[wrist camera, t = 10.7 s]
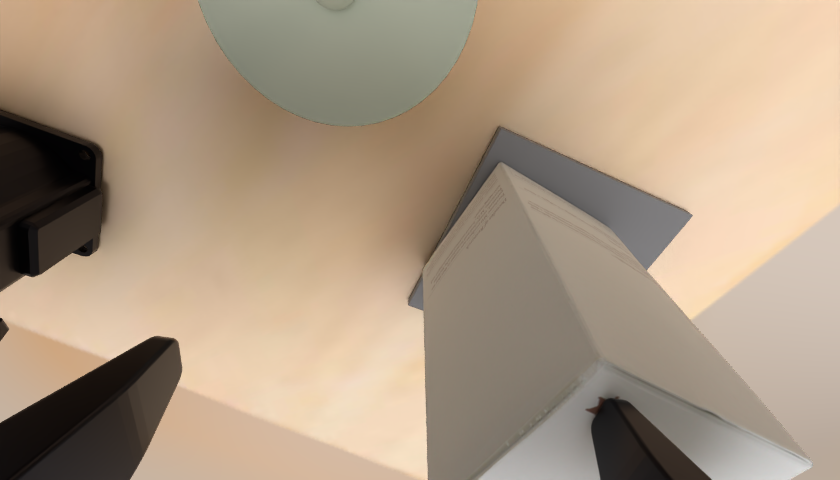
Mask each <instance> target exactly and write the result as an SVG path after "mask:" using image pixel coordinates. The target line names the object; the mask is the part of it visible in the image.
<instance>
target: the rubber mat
mask: <svg viewBox="0 0 840 480" xmlns="http://www.w3.org/2000/svg"><path fill="white" fill-rule="evenodd" d="M500 162H502V163H504V164H506V165H507V166H509V167H511V168H512V169H514V170H516V171H517V172H519V173H521V174H522V175H524V176H526V177H527V178H529V179H531V180H532V181H534V182H536V183H537V184H539V185H541V186H542V187H544V188H546V189H547V190H549V191H551V192H552V193H554V194H556V195H557V196H559V197H561V198H562V199H564V200H566V201H567V202H569V203H571V204H572V205H574V206H576V207H577V208H579V209H581V210H582V211H584V212H585V213H587V214H589V215H590V216H592V217H594V218H595V219H597V220H598V221H600V222H601V223H603V224H604V225H606V226H607V227H609V228H610V229H611V230H612V231H613V232H614V233H615V234H616V236H617V237H618V238H619V239H620V240H621V241H622V243H623V244H624V245H625V246H626V247H627V248H628V250H629V251H630V252H631V253H632V254H633V256H634V257H635V258H636V259H637V260H638V261H639V263H640V264H641V265H642V266H643V267H644V268H645V269H646V270H647V269H648V268H649V267H650V266H651V265H652V263H653V262H654V261H655V260H656V259H657V258H658V256H659V255H660V254H661V253H662V252H663V250H664V249H665V248H666V247H667V246H668V245H669V243H670V242H671V241H672V240H673V239H674V237H675V236H676V235H677V234H678V233H679V232H680V230H681V229H682V228H683V227H684V226H685V224H686V223H687V222H688V221H689V220H690V219H691V217H692V216H693V215H692V214H690V213H689V212H688V211H685V210H683V209H681V208H679V207H677V206H674V205H672V204H670V203H668V202H666V201H663V200H661V199H659V198H657V197H655V196H652V195H650V194H648V193H646V192H644V191H641V190H639V189H637V188H635V187H633V186H630V185H628V184H626V183H624V182H622V181H619V180H617V179H615V178H613V177H611V176H608V175H606V174H604V173H602V172H600V171H597V170H595V169H593V168H591V167H589V166H586V165H584V164H582V163H580V162H578V161H575V160H573V159H571V158H569V157H566V156H564V155H562V154H560V153H558V152H555V151H553V150H551V149H549V148H547V147H544V146H542V145H540V144H538V143H536V142H533V141H531V140H529V139H527V138H525V137H522V136H520V135H518V134H516V133H514V132H511V131H509V130H507V129H505V128H503V127H500V126H499V128H498V130H497V132H496V134H495V136H494V137H493V139H492V141H491V143H490V145H489V147H488V149H487V151H486V153H485V155H484V157H483V158H482V160H481V162H480V164H479V166H478V168H477V170H476V172H475V174H474V176H473V178H472V180H471V181H470V183H469V185H468V187H467V189H466V191H465V193H464V195H463V197H462V199H461V201H460V202H459V204H458V206H457V208H456V210H455V212H454V214H453V216H452V218H451V220H450V222H449V224H448V225H447V227H446V229H445V231H444V233H443V235H442V237H441V239H440V241H439V243H438V245H437V246H436V248H435V250H434V252H435V251H436V250H437V248H438V247H439V245H440V244H441V242H442V241H443V240H444V238H445V237H446V236H447V234H448V233H449V231H450V230H451V229H452V227H453V226H454V224H455V223H456V222H457V220H458V219H459V217H460V216H461V215H462V213H463V212H464V210H465V209H466V207H467V206H468V205H469V203H470V202H471V201H472V200H473V198H474V197H475V195H476V194H477V192H478V191H479V190H480V188H481V187H482V185H483V184H484V182H485V181H486V180H487V179H488V177H489V176H490V174H491V173H492V172H493V170H494V169H495V168H496V166H497V165H498V164H499V163H500ZM434 252H433V254H434ZM433 254H432V255H433ZM408 305H409V306H412V307H415V308H417V309H420V310H423V311H424V308H423V273H422V275H421V277H420V279H419V281H418V283H417V285H416V287H415V289H414V290H413V292H412V294H411V296H410V298H409V300H408Z"/></svg>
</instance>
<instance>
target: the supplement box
mask: <svg viewBox="0 0 840 480" xmlns="http://www.w3.org/2000/svg"><path fill="white" fill-rule="evenodd" d="M423 308H424V347H425V389H426V426H427V463H428V480H600V475H599V470H598V465H597V460H596V455H595V450H594V445H593V440H592V434H591V425H592V421H593V419H594V418H595V416H596V414H597V413H598V411H599V409H600V408H601V406H602V404H603V403H604V401H605V400H606V399H608V398H615V399H622V400H626V401H628V402H630V403H631V404H632V405H633V406H634V407H635V408H636V409H637V410H638V411H639V412H641V413H642V414H643V415H644V416H645V417H646V418H647V419H648V420H649V421H650V422H651V423H652V424H653V425H654V426H655V427H657V428H658V429H659V430H660V431H661V432H662V433H663V434H664V435H665V436H666V437H667V438H668V439H669V440H670V441H671V442H673V443H674V444H675V445H676V446H677V447H678V448H679V449H680V450H681V451H682V452H683V453H684V454H685V455H686V456H687V457H689V458H690V459H691V460H692V461H693V462H694V463H695V464H696V465H697V466H698V467H699V468H700V469H701V470H702V471H703V472H704V473H706V474H707V475H708V476H709V477H710V478H711V479H712V480H790V479H792V478H794V477H795V476H797V475H799V474H801V473H802V472H804V471H806V470H808V469H810V468H812V466H813V462H812V461H811V459H810V458H809V457H808V456H807V454H806V453H805V452H804V451H803V450H802V449H801V447H800V446H799V445H798V444H797V443H796V442H795V440H794V439H793V438H792V437H791V435H790V434H789V433H788V432H787V431H786V430H785V428H784V427H783V426H782V425H781V423H780V422H779V421H778V420H777V419H776V417H775V416H774V415H773V414H772V413H771V412H770V410H769V409H768V408H767V407H766V406H765V405H764V403H763V402H762V401H761V400H760V399H759V398H758V396H757V395H756V394H755V393H754V392H753V391H752V390H751V389H750V387H749V386H748V385H747V384H746V383H745V382H744V380H743V379H742V378H741V377H740V376H739V375H738V374H737V372H735V370H734V369H733V368H732V367H731V366H730V364H729V363H728V362H727V361H726V360H725V359H724V358H723V357H722V355H721V354H720V353H719V352H718V351H717V350H716V349H715V348H714V346H713V345H712V344H711V343H710V342H709V341H708V340H707V339H706V337H704V335H703V334H702V333H701V332H700V331H699V329H698V328H697V327H696V326H695V325H694V324H693V323H692V322H691V320H690V319H689V318H688V317H687V316H686V315H685V314H684V312H683V311H682V310H681V309H680V308H679V307H678V306H677V304H676V303H675V302H674V301H673V300H672V299H671V298H670V297H669V295H668V294H667V293H666V292H665V291H664V290H663V289H662V287H661V286H660V285H659V284H658V283H657V282H656V281H655V280H654V278H653V277H652V276H651V275H650V274H649V273H648V272H647V270H646V269H645V268H644V267H643V266H642V265H641V264H640V263H639V261H638V260H637V259H636V258H635V257H634V256H633V254H632V253H631V252H630V251H629V250H628V248H627V247H626V246H625V245H624V244H623V243H622V241H621V240H620V239H619V238H618V237H617V236H616V234H615V233H614V232H613V231H612V230H611V229H610V228H609V227H607V226H606V225H604V224H603V223H601V222H600V221H598V220H597V219H595V218H594V217H592V216H590V215H589V214H587V213H585V212H584V211H582V210H581V209H579V208H577V207H576V206H574V205H572V204H571V203H569V202H567V201H566V200H564V199H562V198H561V197H559V196H557V195H556V194H554V193H552V192H551V191H549V190H547V189H546V188H544V187H542V186H541V185H539V184H537V183H536V182H534V181H532V180H531V179H529V178H527V177H526V176H524V175H522V174H521V173H519V172H517V171H516V170H514V169H512V168H511V167H509V166H507V165H506V164H504V163H502V162H500V163H499V164H498V165H497V166H496V168H495V169H494V170H493V172H492V173H491V174H490V176H489V177H488V179H487V180H486V181H485V182H484V184H483V185H482V187H481V188H480V190H479V191H478V192H477V194H476V195H475V197H474V198H473V200H472V201H471V202H470V203H469V205H468V206H467V207H466V209H465V210H464V212H463V213H462V215H461V216H460V217H459V219H458V220H457V222H456V223H455V224H454V226H453V227H452V229H451V230H450V231H449V233H448V234H447V236H446V237H445V238H444V240H443V241H442V242H441V244H440V245H439V247H438V248H437V250H436V251H435V252H434V254H433V255H432V256H431V258H430V259H429V261H428V262H427V264H426V265H425V267H424V268H423Z"/></svg>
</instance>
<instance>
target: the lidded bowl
mask: <svg viewBox="0 0 840 480" xmlns="http://www.w3.org/2000/svg"><path fill="white" fill-rule="evenodd" d="M477 1H478V0H198V2H199V5H200V7H201V10H202V12H203V15H204V17H205V20H206V22H207V24H208V26H209V28H210V30H211V32H212V34H213V36H214V38H215V40H216V42H217V43H218V45H219V46H220V48H221V49H222V51H223V52H224V54H225V55H226V57H227V58H228V60H229V61H230V62H231V63H232V65H233V66H234V67H235V68H236V70H237V71H238V72H239V73H240V74H241V75H242V76H243V77H244V78H245V79H246V80H247V81H248V82H249V83H250V84H251V85H252V86H253V87H254V88H255V89H256V90H257V91H259V92H260V93H261V94H262V95H264V96H265V97H266V98H267V99H269V100H270V101H272V102H273V103H275V104H277V105H278V106H280V107H281V108H283V109H285V110H287V111H289V112H291V113H293V114H295V115H297V116H299V117H302V118H305V119H308V120H311V121H314V122H318V123H323V124H328V125H335V126H364V125H369V124H374V123H379V122H382V121H385V120H388V119H391V118H394V117H396V116H398V115H400V114H402V113H404V112H406V111H408V110H410V109H411V108H413V107H414V106H416V105H417V104H419V103H420V102H422V101H423V100H424V99H425V98H426V97H427V96H428V95H430V94H431V93H432V92H433V91H434V90H435V89H436V88H437V87H438V86H439V84H440V83H441V82H442V81H443V80H444V79H445V78H446V76H447V75H448V73H449V72H450V70H451V69H452V67H453V66H454V64H455V63H456V61H457V59H458V57H459V55H460V54H461V52H462V50H463V48H464V46H465V43H466V41H467V38H468V35H469V33H470V30H471V27H472V24H473V20H474V16H475V11H476V7H477Z"/></svg>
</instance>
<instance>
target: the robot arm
mask: <svg viewBox="0 0 840 480" xmlns="http://www.w3.org/2000/svg"><path fill="white" fill-rule="evenodd" d="M85 151H87V152H88V153H89V154H90V157H89V156H87V154H86V153H85ZM101 167H102V154H101V151H100V150H99V148H98V147H97V146H96V145H94V144H92V143H90V142H87V141H84V140H81V139H79V138H76V137H73V136H70V135H68V134H65V133H62V132H59V131H57V130H54V129H51V128H48V127H46V126H43V125H40V124H38V123H35V122H32V121H29V120H27V119H24V118H21V117H18V116H16V115H13V114H10V113H7V112H5V111H2V110H0V292H1V291H3V290H4V289H5V288H7V287H8V286H10V285H11V284H13V283H14V282H16V281H17V280H19V279H20V278H22V277H23V276H25V275H27V276H30V277H35V276H38V275H40V274H42V273H44V272H45V271H46V270H48V269H49V268H51V267H52V266H54V265H55V264H57V263H58V262H59V261H61V260H62V259H64V258H65V257H67V256H68V255H69V254H71V253H75V254H78V255H81V256H90V255H91V254H93V253H94V252H95V251H97V249H98V234H100V232H101V215H102V192H101ZM84 246H86V247H87V248H86V247H84ZM8 330H9V328H8V327H7V325H6V323H5V322H4V321H3V319H2V318H0V341H1V339H2V338H3V337H4V335H5V334H6V333H7V331H8ZM181 373H182V363H181V356H180V349H179V343H178V341H177V340H176V339H174V338H168V337H161V336H154V337H151V338H149V339H147V340H146V341H144V342H142V343H140V344H138V345H137V346H135V347H133V348H131V349H130V350H128V351H126V352H124V353H123V354H121V355H119V356H117V357H116V358H114V359H112V360H110V361H108V362H107V363H105V364H103V365H101V366H100V367H98V368H96V369H94V370H93V371H91V372H89V373H87V374H85V375H84V376H82V377H80V378H78V379H77V380H75V381H73V382H71V383H70V384H68V385H66V386H64V387H63V388H61V389H59V390H57V391H55V392H54V393H52V394H50V395H48V396H47V397H45V398H43V399H41V400H40V401H38V402H36V403H34V404H32V405H31V406H29V407H27V408H25V409H24V410H22V411H20V412H18V413H17V414H15V415H13V416H11V417H10V418H8V419H6V420H4V421H2V422H1V423H0V480H130V479H131V477H132V475H133V474H134V472H135V470H136V469H137V467H138V465H139V463H140V461H141V460H142V457H143V456H144V454H145V452H146V450H147V448H148V446H149V444H150V442H151V440H152V438H153V436H154V434H155V431H156V429H157V427H158V425H159V423H160V421H161V418H162V416H163V414H164V412H165V410H166V408H167V406H168V403H169V401H170V399H171V397H172V395H173V393H174V391H175V389H176V386H177V384H178V382H179V380H180V377H181ZM591 434H592V440H593V445H594V450H595V455H596V460H597V465H598V470H599V475H600V480H712V479H711V478H710V477H709V476H708V475H707V474H706V473H704V472H703V471H702V470H701V469H700V468H699V467H698V466H697V465H696V464H695V463H694V462H693V461H692V460H691V459H690V458H689V457H687V456H686V455H685V454H684V453H683V452H682V451H681V450H680V449H679V448H678V447H677V446H676V445H675V444H674V443H673V442H671V441H670V440H669V439H668V438H667V437H666V436H665V435H664V434H663V433H662V432H661V431H660V430H659V429H658V428H657V427H655V426H654V425H653V424H652V423H651V422H650V421H649V420H648V419H647V418H646V417H645V416H644V415H643V414H642V413H641V412H639V411H638V410H637V409H636V408H635V407H634V406H633V405H632V404H631V403H630V402H628V401H626V400H622V399H615V398H608V399H606V400H605V401H604V403H603V404H602V406H601V408H600V409H599V411H598V413H597V414H596V416H595V418H594V419H593V421H592V425H591Z"/></svg>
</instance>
